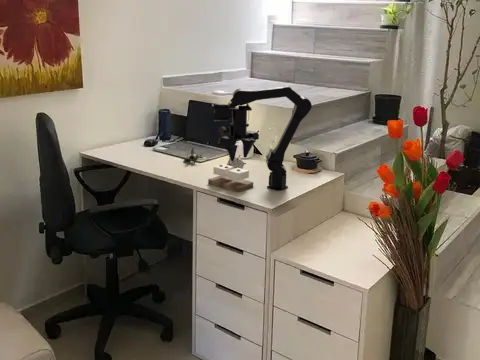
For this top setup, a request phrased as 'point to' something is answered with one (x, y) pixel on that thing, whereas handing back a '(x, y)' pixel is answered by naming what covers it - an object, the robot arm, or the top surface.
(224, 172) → the tile two
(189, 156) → the eagle figurine
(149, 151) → the top surface
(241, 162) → the game die
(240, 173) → the tile one
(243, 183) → the brown flat slab
